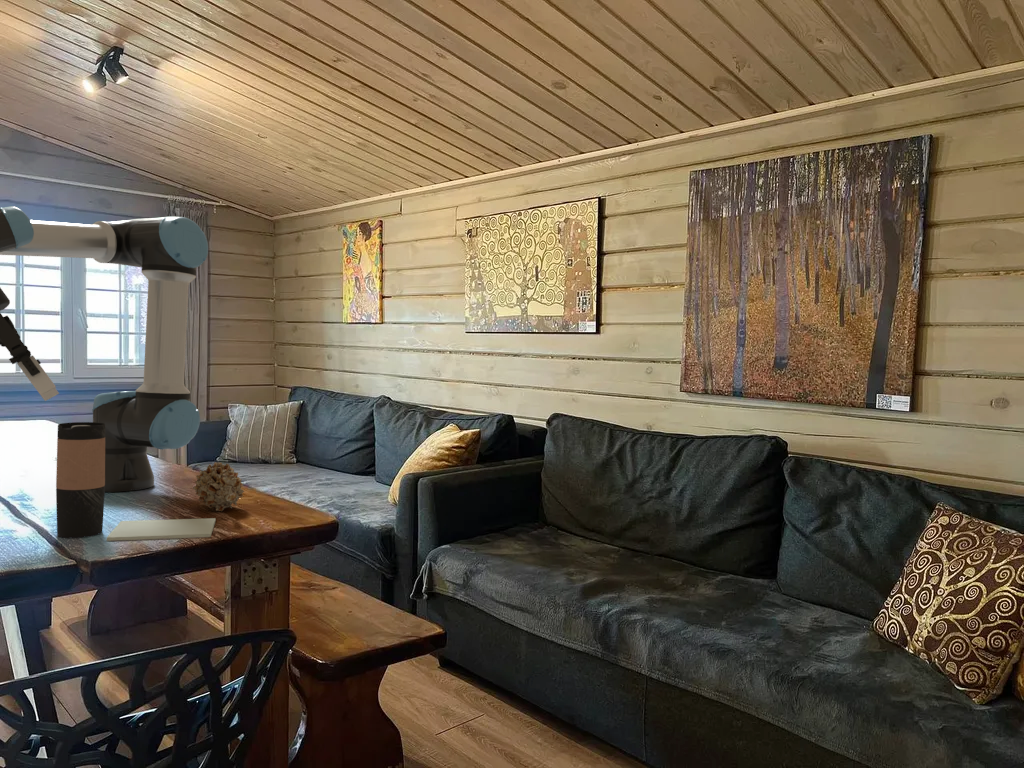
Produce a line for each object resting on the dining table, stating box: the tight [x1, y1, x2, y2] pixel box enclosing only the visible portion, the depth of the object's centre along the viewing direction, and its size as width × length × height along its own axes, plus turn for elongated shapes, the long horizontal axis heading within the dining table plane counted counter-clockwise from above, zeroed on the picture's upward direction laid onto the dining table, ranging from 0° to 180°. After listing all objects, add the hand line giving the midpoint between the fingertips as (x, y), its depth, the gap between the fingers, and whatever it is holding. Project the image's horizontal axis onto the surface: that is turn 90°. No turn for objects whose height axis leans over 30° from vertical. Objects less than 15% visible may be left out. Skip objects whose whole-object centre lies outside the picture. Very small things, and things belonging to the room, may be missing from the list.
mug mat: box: [106, 517, 217, 542], centre depth 138 cm, size 17×13×1 cm
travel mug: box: [55, 421, 106, 539], centre depth 133 cm, size 8×8×20 cm
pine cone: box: [192, 461, 245, 512], centre depth 155 cm, size 22×10×10 cm, turn 37°
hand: (50, 394), depth 134 cm, fingers open, 13 cm apart
